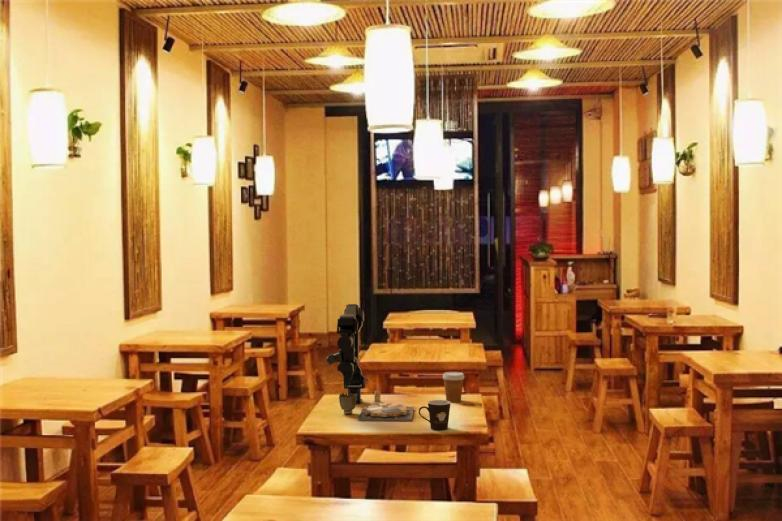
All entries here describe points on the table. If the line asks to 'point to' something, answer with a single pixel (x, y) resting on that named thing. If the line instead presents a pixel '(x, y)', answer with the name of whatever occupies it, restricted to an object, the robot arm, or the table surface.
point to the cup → (348, 402)
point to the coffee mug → (438, 414)
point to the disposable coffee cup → (453, 386)
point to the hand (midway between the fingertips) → (347, 384)
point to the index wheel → (385, 408)
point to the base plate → (369, 417)
